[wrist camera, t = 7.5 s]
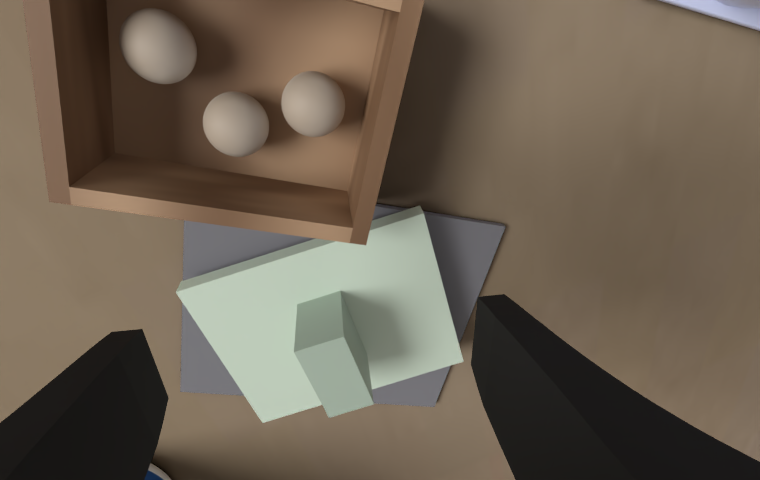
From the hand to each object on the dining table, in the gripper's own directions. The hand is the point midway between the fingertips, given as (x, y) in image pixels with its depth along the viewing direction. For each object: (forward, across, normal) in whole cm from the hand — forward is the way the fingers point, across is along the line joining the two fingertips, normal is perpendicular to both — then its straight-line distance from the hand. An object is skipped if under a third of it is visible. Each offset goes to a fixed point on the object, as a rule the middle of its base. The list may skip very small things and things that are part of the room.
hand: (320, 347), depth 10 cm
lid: (+9, 0, +7) cm, 11 cm away
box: (+10, +2, -4) cm, 11 cm away
